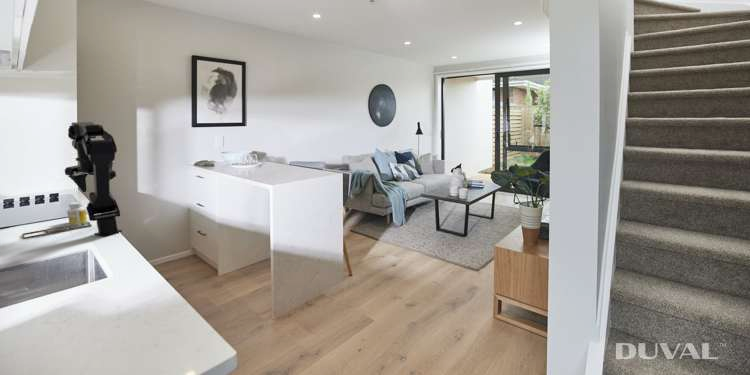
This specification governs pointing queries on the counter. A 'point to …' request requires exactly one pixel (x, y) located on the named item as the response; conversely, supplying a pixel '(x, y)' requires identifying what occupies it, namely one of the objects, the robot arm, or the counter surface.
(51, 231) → the board
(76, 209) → the supplement bottle
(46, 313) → the counter surface
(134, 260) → the counter surface
